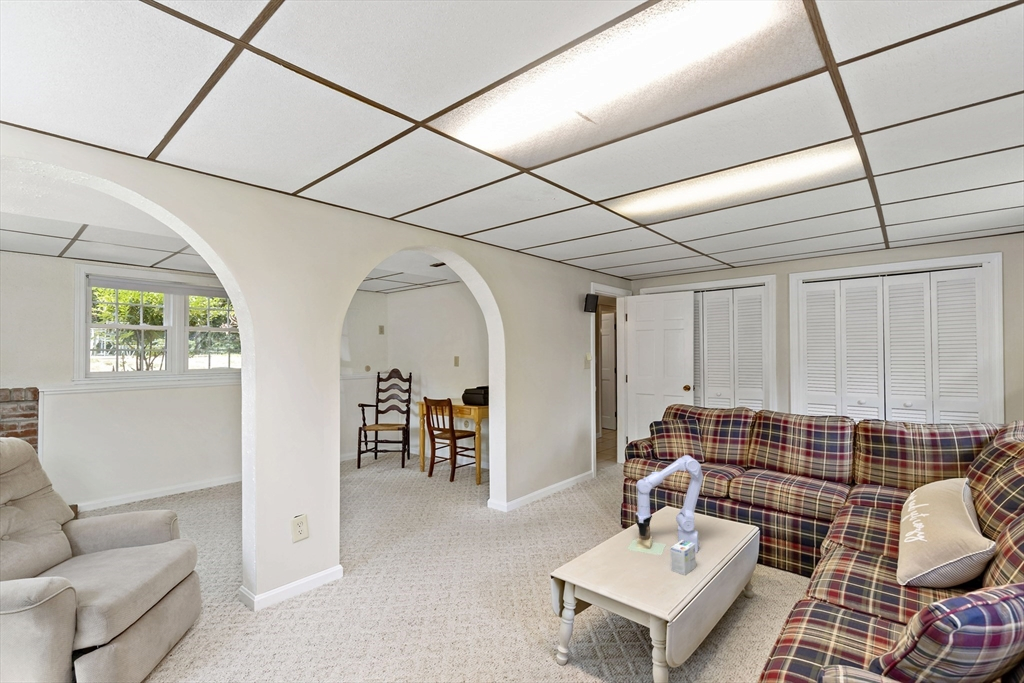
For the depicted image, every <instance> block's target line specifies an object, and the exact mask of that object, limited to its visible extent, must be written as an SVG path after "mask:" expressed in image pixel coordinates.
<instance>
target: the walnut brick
mask: <svg viewBox="0 0 1024 683" xmlns="http://www.w3.org/2000/svg"><path fill="white" fill-rule="evenodd" d="M650 536H651V526H650V525H649V526H647V528H646V535H645V536H641V535H640V531H639V530H638V537H639V539H645V540H649V538H650Z"/></svg>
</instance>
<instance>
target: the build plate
mask: <svg viewBox="0 0 1024 683" xmlns="http://www.w3.org/2000/svg"><path fill="white" fill-rule="evenodd" d="M666 546H667V543H660V542H653V541H652V546H651V548H650V549H646V548H640V547H637V538H636V539H634V538H633V539H632V541H631V542H630V543H629V545H628V547H627V549H626V551H631V552H632V551H633V552H637V553H643V554H650V555H655V556H662V554H663V552H664V551H665V548H666Z"/></svg>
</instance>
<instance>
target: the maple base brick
mask: <svg viewBox="0 0 1024 683" xmlns="http://www.w3.org/2000/svg"><path fill="white" fill-rule="evenodd" d="M636 540H637V547H640V548H646V549H650V548H651V546H652V542H653V536H651V535H650V538H649V540H645V539H639V536H638V537H637V538H636Z"/></svg>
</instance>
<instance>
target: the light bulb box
mask: <svg viewBox="0 0 1024 683" xmlns="http://www.w3.org/2000/svg"><path fill="white" fill-rule="evenodd" d="M696 562H697V561H696V552H695V543H691V542H688V541H684V540H680V541H679V542H678V541H677V542H676V543H675V544H673V545H672V546H670V567H671V569H670V570H671V572H672V573H673V572H674V573H677V574H679V575H683V576H686V575H688V574H689V573H691V572H692V571H693V570H694V569H696V566H697V564H696Z"/></svg>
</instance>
